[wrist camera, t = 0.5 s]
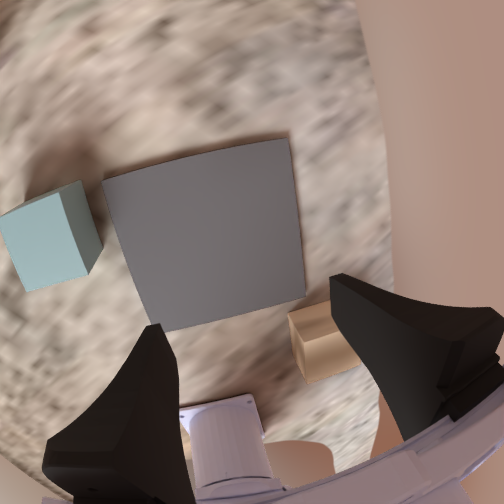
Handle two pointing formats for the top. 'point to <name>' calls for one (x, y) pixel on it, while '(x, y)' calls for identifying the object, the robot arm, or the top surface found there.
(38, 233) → the teal brick
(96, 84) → the top surface
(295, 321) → the birch brick
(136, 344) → the robot arm
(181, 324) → the charcoal mat
